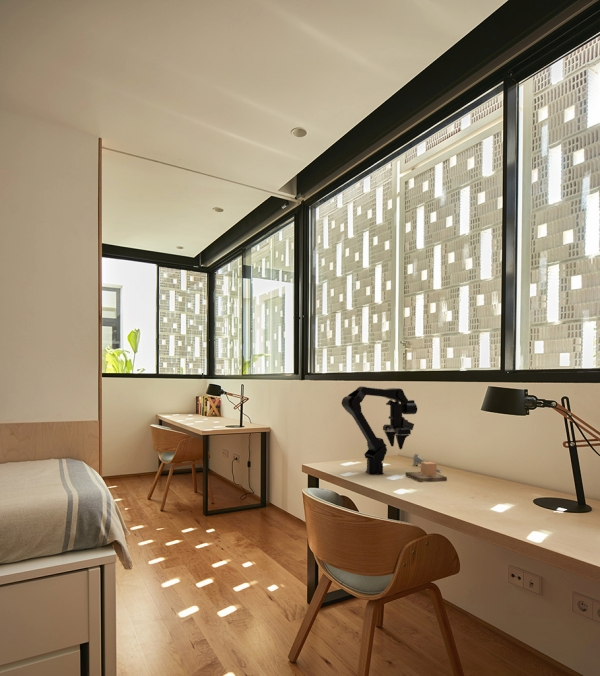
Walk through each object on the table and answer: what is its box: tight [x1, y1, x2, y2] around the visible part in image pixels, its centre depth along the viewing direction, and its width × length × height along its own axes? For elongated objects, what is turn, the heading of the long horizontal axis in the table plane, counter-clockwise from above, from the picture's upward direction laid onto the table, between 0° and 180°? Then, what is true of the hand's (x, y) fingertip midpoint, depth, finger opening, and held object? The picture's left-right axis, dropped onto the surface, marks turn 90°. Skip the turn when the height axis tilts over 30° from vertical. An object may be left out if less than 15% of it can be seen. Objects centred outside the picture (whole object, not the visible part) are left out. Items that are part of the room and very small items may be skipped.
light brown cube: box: [420, 461, 438, 476], centre depth 204 cm, size 5×5×5 cm
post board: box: [405, 471, 448, 483], centre depth 203 cm, size 13×13×6 cm
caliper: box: [412, 453, 443, 473], centre depth 225 cm, size 20×1×6 cm, turn 24°
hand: (396, 447), depth 218 cm, fingers open, 9 cm apart
